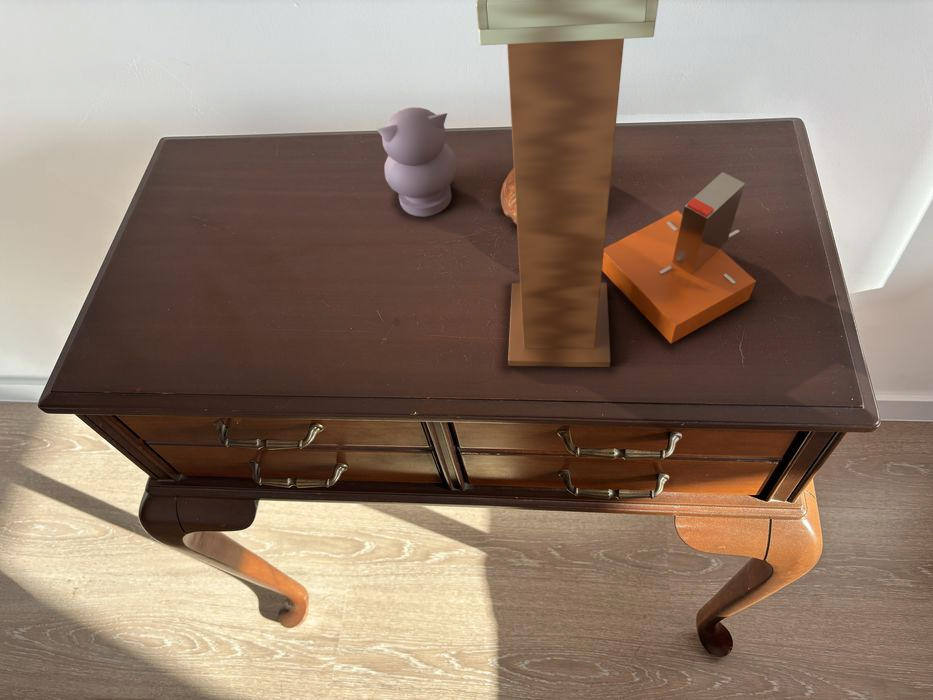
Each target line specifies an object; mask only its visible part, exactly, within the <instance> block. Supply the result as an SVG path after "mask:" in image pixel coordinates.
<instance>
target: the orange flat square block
mask: <svg viewBox="0 0 933 700" xmlns="http://www.w3.org/2000/svg"><path fill="white" fill-rule="evenodd" d="M682 216H683V213H681V212H680V211H679V210H676V211H674V212H671V213H670V214H668V215H665V216H664V217H662V218H660V219H658V220H656V221H654V222H652V223H651V224H648V225H647V226H644V227H643V228H641V229H638V230H637V231H635V232H633V233H631V234H629V235H627V236H624V237H623V238H622V239H619V240H618V241H616V242H614V243H612V244H610V245H608V246H606V247H604V255H603V265H602V273H603V274H605V276H606V277H607V278H608V279H609V280H610V281H611V282H612V283H613V284H614V285H615V287H616V288H617V289H619V290H620V291H621V292H622V293H623V295H624V296H626V298H627V299H628V300H629V301H630V302H631V303H632V304H633V305H634V306H635V307H636V309H638V311H639V312H640V313H642V315H643V316H644V317H645V318H646V319H647V320H648V321H649V322H650V323H651V324H652V325H653V326H654V328H655V329H656V330H658V332H659V333H660V334H661V335H662V336H663V337H664V338H665V339H666V341H668V343H670V344H673V343H675V342H677V341H679V340H680V339H682V338H684V337H685V336H687V335H689V334H691V333H692V332H694V331H696V330H698V329H699V328H701V327H703V326H705V325H707V324H709V323H710V322H712V321H714V320H715V319H717V318H720V317H721V316H723V315H724V314H726V313H728V312H730V311H731V310H733V309H735V308H736V307H738V306H741V305H742V304H744V303H745V302H747V301H749V300H750V298H751V295H752V293H753V290H754V287H755V286H756V282H757V281H756V279H754V278H753V277H752V276H751V275H750V274H749V273H748V272H746V271H745V270H744V269H743V268H742V267H741V266H740V265H739V264H738V263H736V261H734V260H733V259H732V258H731V257H730V256H729V255H728V254H727V253H726V252H724V251H723V250H722V249H721V248H720V249H719V250H718V251H717V252H716V253H715V254H714V255H713V256H711V257H710V258H709V259H708V260H707V261H706V262H705V263H704V264H703V265H702V266H701V267H700V268H699V269H698V270H697V271H696V272H695V273H694V274H693V275H692V274H690V273H689V272H687V271H685V270H684V269H682V268H680V267H679V266H677V265H675V264H674V263H672V261H673V257H674V252H675V248H676V243H677V239H678V234H679V230H680V225H681V220H682ZM738 234H740V230H739V229H736V230H734V231H732V232H730V234H729V237H728V239H731V238H732V237H734V236H736V235H738Z"/></svg>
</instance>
